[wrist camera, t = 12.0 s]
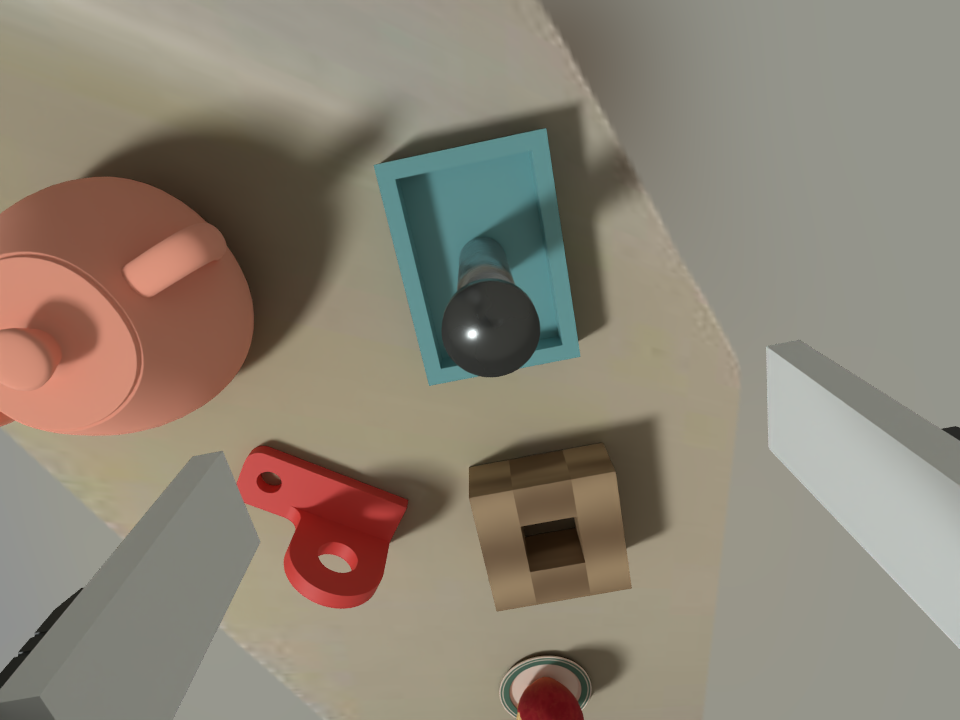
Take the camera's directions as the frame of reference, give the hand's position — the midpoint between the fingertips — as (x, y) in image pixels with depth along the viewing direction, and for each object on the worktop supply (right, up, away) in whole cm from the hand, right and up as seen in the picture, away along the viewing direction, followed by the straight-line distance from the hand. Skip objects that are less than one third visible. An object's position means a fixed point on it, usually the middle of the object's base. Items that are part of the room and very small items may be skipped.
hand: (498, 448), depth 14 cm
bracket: (-12, -8, +30) cm, 34 cm away
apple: (+5, -26, +38) cm, 46 cm away
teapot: (-23, +6, +25) cm, 34 cm away
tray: (0, +9, +24) cm, 26 cm away
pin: (0, +8, +23) cm, 25 cm away
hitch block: (+5, -9, +31) cm, 33 cm away
